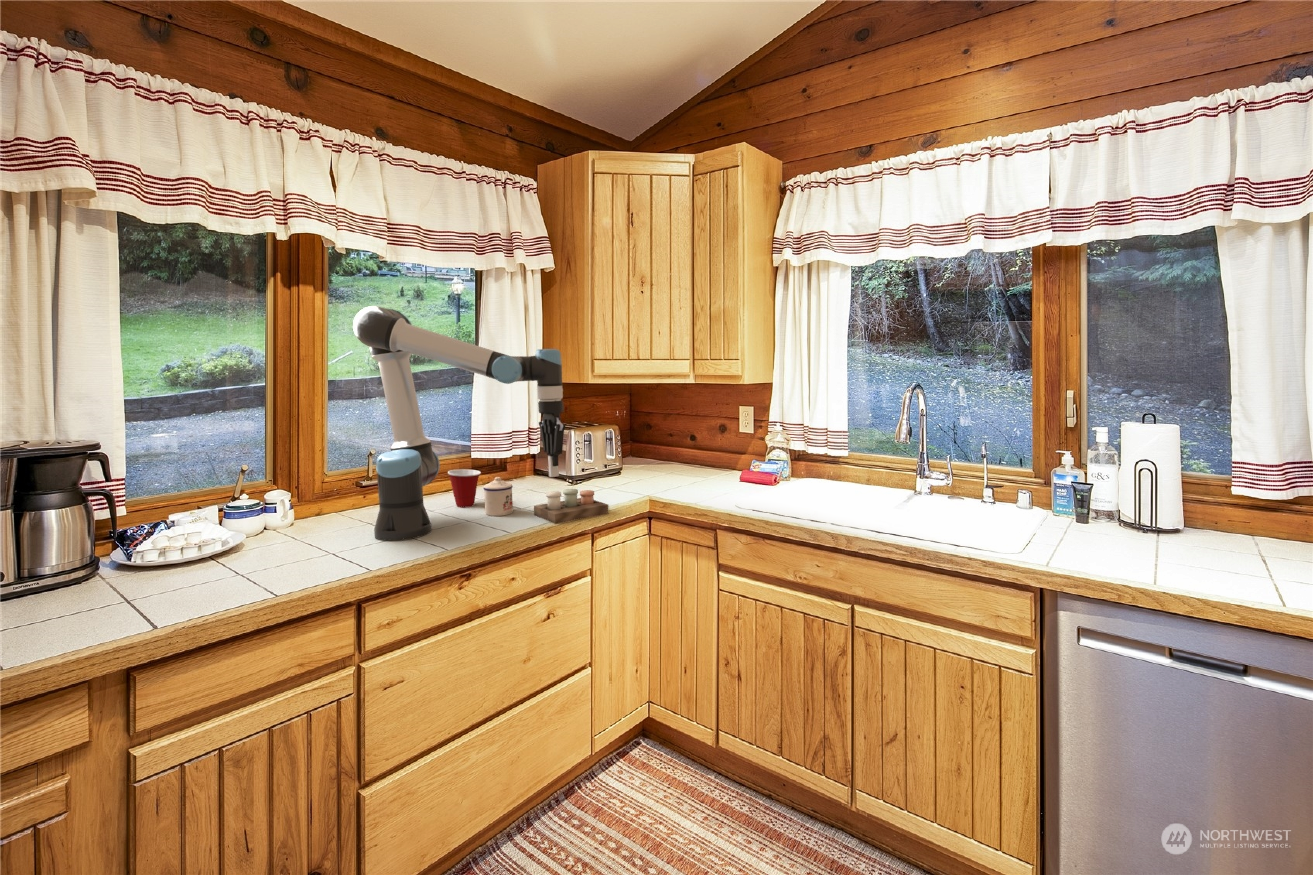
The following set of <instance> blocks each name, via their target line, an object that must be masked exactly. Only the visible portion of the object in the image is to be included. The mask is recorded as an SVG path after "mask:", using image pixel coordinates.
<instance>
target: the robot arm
mask: <svg viewBox="0 0 1313 875" xmlns="http://www.w3.org/2000/svg"><path fill="white" fill-rule="evenodd" d="M352 330H353V332H354V335H355V337H356V338H357V339H358V341H359V342H360V343H362V344H364V345H365V346H367V347H368V348H369V351H370V352H369V353H370V356H371V358H372V359H373V360H374V361H376V362H377V363H378V367H379V373H380V377H381V382H382V387H383V392H384V396H385V401H386V407H387V410H388V411H387V412H388V417H389V421H390V426H391V431H392V435H393V440H394V441H393V443H392V445H390V451H385V452H384V453H383V452H382V453H381V454H379V456H378V457H377V459H376V466H375V471H376V479H377V480H376V481H377V493H378V503H379V504H378V505H379V509H378V513H377V517H376V522H375V524H374V530H373V531H374V532H373V534H374V538H376V539H378V540H382V541H404V540H409V539H416V538H420V537H423V536H427V535H428V534H430V533H431V532H432V530H433V529H432V522H431V519H430V517H429V515H428V514H429V513H428V512H427V510H426V508H425V502H424V491H423V490H424V488H423V487H425V486H427V485H429V484H430V483H431V482H433V481H434V480H435V479H436V477H437V475H438V473H439V471H440V460H439V457H438V455H437V453H436V452H435V451H434V450H433V447H432V441H431V440H430V439H429V438H427V437H426V436H425V433H424V428H423V422H422V418H421V417H422V416H421V413H420V408H419V404H418V403H419V402H418V396H417V392H416V387H415V383H414V377H413V372H412V367H411V363H410V362H411V361H410V358H411V356H412V355H416V356H419V357H422V358H426V359H429V360H432V361H434V362H437V363H438V362H439V363H441V364H445V365H447V366H451V367H455V368H458V369H460V370H464V371H468V372H471V373H474V374H478V375H480V376H484V377H488V378H490V379H493V380H495V381H497V382H499V383H502V384H507V385H509V384H513V383H515V382H516V383H517V382H536V383H537V389H536V390H537V399H538V402H537V403H538V404H537V406H538V408H537V409H538V413H539V414H542V421H539V422H538V426H539V428H540V429H539V430H540V435H541V442H542V446H543V447H542V448H543V452H544V453H545V454H546V455H547V459H548V460H547V461H548V462H547V463H548V477H550V478H555V477H559V476H560V469H559V468H560V467H559V456H560V455H562V454H563V448H564V446H563V445H564V435H565V433H564V432H565V428H566V424H565V423H562V422H561V420H562V418H561V415H560V414H561V413H564V401H563V400H562V399H564V398H563V397H564V394H563V392H564V389H563V364H562V354H561V351H560V350H559V349H558V348H557V349H556V348H540V349H536V351H535V355H530V356H529V355H528V356H527V355H525V356H524V355H523V356H520V355H518V356H515V355H514V356H513V355H508V354H505V353H501V352H498V351H495V350H491V349H488V348H487V347H486V348H485V347H482V346H479V345H477V344H476V345H475V344H474V343H469V342H466V341H463V340H460V339H457V338H454V337H450V336H447V335H444V334H442V333H438V332H434V331H431V330H428V329H425V328H422V327H418V326H415V325H413V324H412V322H411V320H410V319H409V318H408V317H407V315H405V314H403V313H402V312H401V311H398V310H396V309H394V308H385V307H381V306H375V305H371V306H367V307H363V309H361V310H359V312H357V313H356V315H355V317H354V319H353V325H352Z"/></svg>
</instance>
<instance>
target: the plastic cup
mask: <svg viewBox="0 0 1313 875" xmlns="http://www.w3.org/2000/svg"><path fill="white" fill-rule="evenodd" d="M481 474H482V472H481V471H480V470H476V469H467V468H466V469H464V468H461V469H459V468H458V469H451V470H447V475H448V476H449V480H450V484H451V488H452V493H453V497H454V501H455V506H456V507H457V508H469V507H474V506H475V501H476V495H477V489H478V488H477V487H478V481H479V477H480V475H481Z"/></svg>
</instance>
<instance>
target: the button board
mask: <svg viewBox="0 0 1313 875" xmlns="http://www.w3.org/2000/svg"><path fill="white" fill-rule="evenodd" d="M593 500H594V503H593V504H587V505H584V504H581V497H579V498H578V497H577V506H575V507H570V508H567V507H565V500H560V502H561V509H558V510H553V511H550V510H548V503H544V504H536V505H533V515H534V516H535V517H538V518H541V519H542V520H545V521H548V522H550V523H553V524H554V525H555V524H556V525H557V524H561V523H567V522H573V521H578V520H582V519H588V518H594V517H598V516H603V515H609V504H608V503H604V502H601V501H598V500H596V499H593Z"/></svg>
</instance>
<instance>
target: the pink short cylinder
mask: <svg viewBox="0 0 1313 875" xmlns="http://www.w3.org/2000/svg"><path fill="white" fill-rule="evenodd" d="M594 495H595V490H590V489H589V490H585V489H584V490H580V491H579V496H580V498H581V504H584V505H587V504H593V503H594V500H595V499H594Z"/></svg>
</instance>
